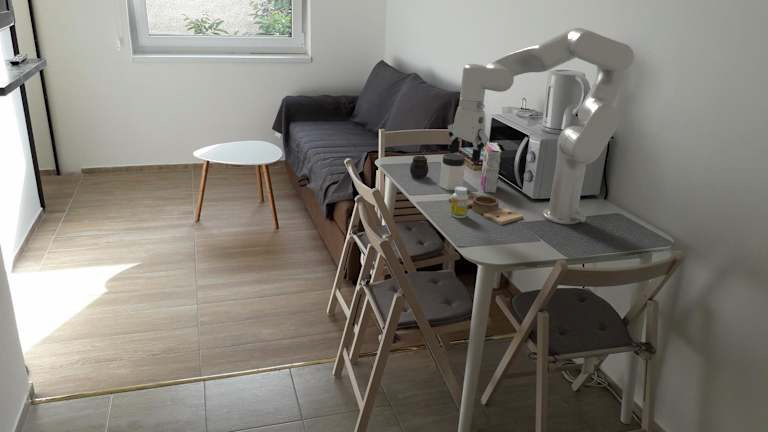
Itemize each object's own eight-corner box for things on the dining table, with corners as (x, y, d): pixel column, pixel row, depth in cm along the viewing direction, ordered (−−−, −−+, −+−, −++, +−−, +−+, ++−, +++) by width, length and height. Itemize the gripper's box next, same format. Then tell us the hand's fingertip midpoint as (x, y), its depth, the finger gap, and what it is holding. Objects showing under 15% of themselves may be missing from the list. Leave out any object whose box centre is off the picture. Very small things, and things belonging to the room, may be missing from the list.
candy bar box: (479, 182, 247) (484, 141, 241) (492, 183, 247) (497, 142, 241) (483, 192, 237) (488, 150, 231) (496, 193, 237) (502, 151, 231)
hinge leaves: (522, 218, 215) (524, 208, 214) (501, 224, 209) (502, 215, 207) (470, 195, 233) (471, 186, 232) (448, 201, 226) (449, 191, 225)
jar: (457, 192, 235) (461, 161, 231) (436, 188, 238) (439, 157, 234) (464, 185, 243) (468, 155, 239) (444, 181, 246) (447, 151, 241)
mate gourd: (407, 178, 247) (409, 153, 243) (412, 172, 254) (414, 148, 250) (425, 181, 245) (427, 156, 241) (429, 175, 252) (431, 151, 248)
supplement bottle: (467, 218, 212) (470, 191, 208) (451, 217, 212) (453, 190, 208) (465, 212, 217) (468, 186, 213) (449, 211, 217) (452, 185, 213)
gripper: (499, 109, 196) (492, 162, 203) (460, 98, 209) (454, 148, 215) (483, 111, 192) (476, 165, 198) (443, 99, 204) (438, 151, 211)
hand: (464, 156), depth 207 cm, fingers open, 9 cm apart
